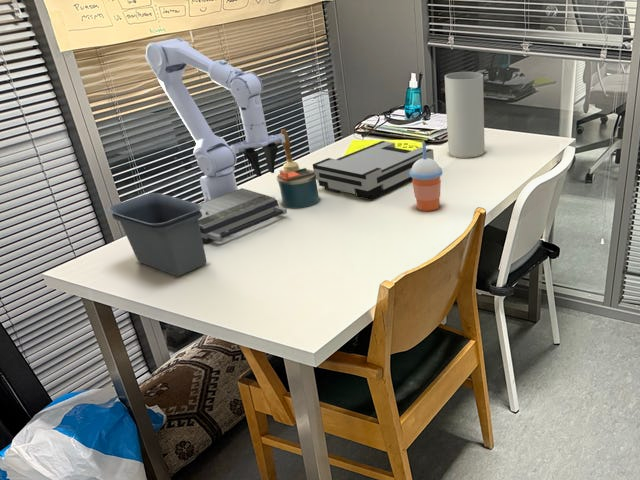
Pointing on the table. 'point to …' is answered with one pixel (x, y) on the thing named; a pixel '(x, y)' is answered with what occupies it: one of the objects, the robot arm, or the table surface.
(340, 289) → the table surface
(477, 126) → the cylinder vase
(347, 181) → the game console
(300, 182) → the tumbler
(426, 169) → the cup with straw
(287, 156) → the hand bell
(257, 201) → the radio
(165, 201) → the storage bin
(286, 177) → the slider
